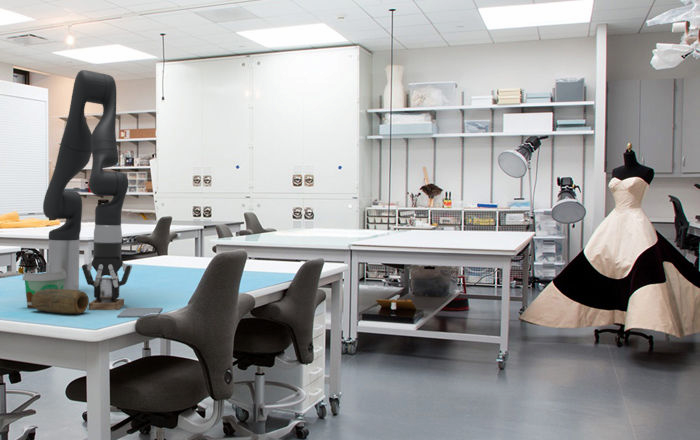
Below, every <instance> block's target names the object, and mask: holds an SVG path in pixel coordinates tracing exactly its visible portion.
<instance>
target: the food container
mask: <svg viewBox="0 0 700 440" xmlns="http://www.w3.org/2000/svg"><path fill="white" fill-rule="evenodd" d="M23 273H24V274H23V276H22V281H24V285H25V287H24V288H25V296H26V297H25V298H26V306H27V309H34V308H33V307H32V304H31V299H32V296H33V295H34V294H35V293H36V292H37V291H40V290H45V289H63V285H64V279H65V278H67V276H66V272H65V270H62V269H61V272H57V273H46V272H41V273H40V272H37V273H34V272H31V273H30V272H23Z"/></svg>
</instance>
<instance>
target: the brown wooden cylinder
mask: <svg viewBox="0 0 700 440" xmlns="http://www.w3.org/2000/svg"><path fill="white" fill-rule="evenodd" d="M89 303H90V301H89V296H88V294H87V293H86V292H85V291H82V290H80V289H79V290H71V289H45V290H40V291H37V292H36V293H35V294H34V295H33V296H32V299H31V304H32V307H33V308H32V309H36V310H38V311H42V312H46V313H52V314H53V313H55V314H64V315H65V314H67V315H68V314H69V315H79V314H82V313H84V312H85V311H86V310H87V309H88V308H89Z"/></svg>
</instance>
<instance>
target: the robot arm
mask: <svg viewBox="0 0 700 440" xmlns="http://www.w3.org/2000/svg"><path fill="white" fill-rule="evenodd" d="M72 88H73V89H72V93H71V94H72V95H71V99H70V105H69V111H68V115H67V120H66V123H65V127H64V131H63V134H62V138H61V141H60V144H59V147H58V153H57V158H56V162H55V165H54V170H53V173H52V176H51V179H50V180H49V181H50V182H49V183H48V187H47V190H46V191H45V195H44V198H43V199H44V200H43V203H42V206H43V207H42V211H43V215H44V216H45V217H46V218H47V219H52V220H65V222H64V224H62V225H60V226H59V227H56V228H54V229H52V230H50V231H49V232H48V255H47V256H48V257H47V258H48V259H47V260H48V262H47V263H46V264H45V273H57V272H61V269H62V270H65V272H66V276H67V278H65V279H64V285H63V289H71V290H79V291H80V239H81V237H80V236H81V230H82V217H83V199H82V195H81V194H80V193H79V192H78V191H73V190H65V189H66V188H67V185H68V184H69V183H70V181H71V180H72V179H74V178H75V177H76V176H77V175H78V174H79V173H80V172H82V170H83V169H84V168H85V167H87V165H88V164H89V162H90V159H91V157H92V166H91V172H90V175H89V181H88V187H89V190H90V191H91V193H92V194H93V195H95V196H98V197H99V196H102V197H103V196H109V197H112V198H111V200H110V201H109V202H107V203H101V204H100V203H99V204H98V205H96V207H95V211H94V213H95V214H94V215H95V216H94V230H93V253H92V255H93V258H92V261H91V262H90V263H84V264H82V266H81V269H82V272H83V275H84V278H85V280H86V283H87V285H89V286H92V287H93V298H94V299H96V300H99V282H100V279H101V278H104V276H108V277H111V278H112V280H113V284H114V287H113V300H116V299H119V297H120V287H121V286H124V285H126V284H127V282H128V279H129V276H130V274H131V272H132V268H133V265H132V264H127V263H124V262H123V259H122V246H123V245H122V243H123V234H122V233H123V232H122V210H123V206H124V202H125V199H126V195H127V193H128V190H129V189H128V188H129V184H130V183H129V178H128V176H127V174H125V173H124V172H122V171H108V170H103V169H106V168H107V169H108V168H112V167H114V166H117V164H118V163H119V153H118V152H119V151H118V145H117V144H118V143H117V136H116V134H117V133H116V126H117V85H116V80H115V78H114V77H113V76H112V75H110V74H106V73H102V72H97V71H93V70H92V71H91V70H87V69H81V70H80V71H79V72H77V74H76V77H75V79H74V82H73V87H72ZM86 103H91V104H97V105H101V106H102V109H103V112H102V115H101V117H100V119H99V121H98V123H97V124H96V126H95V127H94V129H93V131H92V132H91V129H90V127H89V124H88V121H87V119H86V116H85V107H86ZM92 268H93V269H94V270H95V271H96V274H95V279H94V277H93V275H92ZM121 268H122V271H123V272H124V273H123V274H122V278H121V280H120V279H119V273H118V272H119V271H120V269H121Z"/></svg>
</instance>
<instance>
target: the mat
mask: <svg viewBox="0 0 700 440" xmlns="http://www.w3.org/2000/svg"><path fill="white" fill-rule="evenodd" d="M162 311H163V307H126V308H124V309H123V310H122V311H121V312H120V313H119V314H117V315H116V318H142V317H141V316H144V315H146V314H150V313H159V314H160V313H161V312H162Z"/></svg>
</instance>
